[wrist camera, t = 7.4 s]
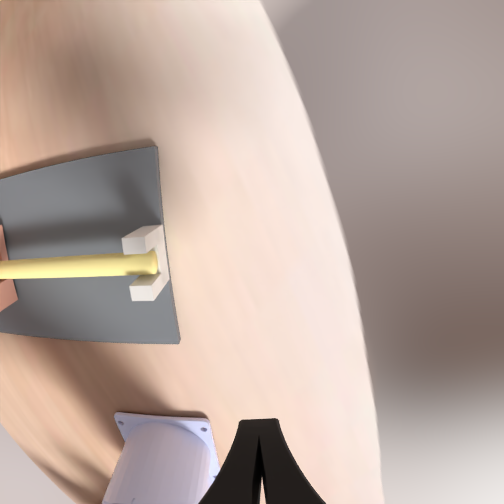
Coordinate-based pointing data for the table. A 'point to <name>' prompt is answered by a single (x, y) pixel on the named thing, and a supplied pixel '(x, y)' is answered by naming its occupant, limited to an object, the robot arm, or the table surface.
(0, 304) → the marker sleeve
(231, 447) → the robot arm
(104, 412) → the table surface
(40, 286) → the cord rig
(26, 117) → the table surface
